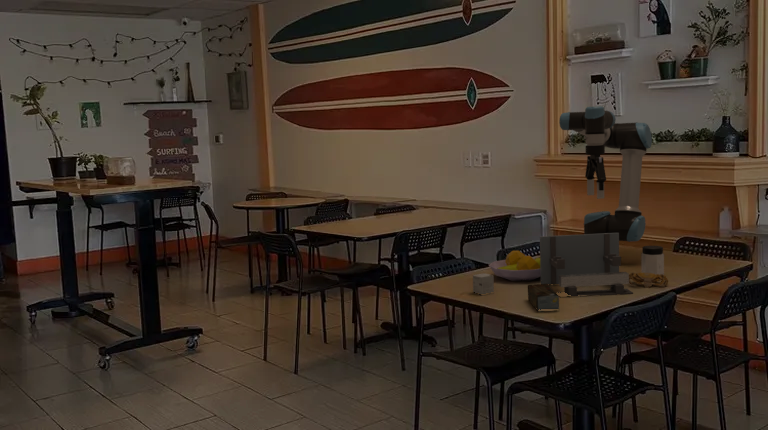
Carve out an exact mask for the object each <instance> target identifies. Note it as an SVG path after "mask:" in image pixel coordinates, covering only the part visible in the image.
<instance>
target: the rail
mask: <svg viewBox="0 0 768 430" xmlns="http://www.w3.org/2000/svg"><path fill="white" fill-rule="evenodd" d="M629 274H630V273H628V272H627V271H619V272H613V273H592V274H572V275H559V285H558V286H559V287H560V288H564V287H577V288H578V287H594V286H595V287H596V286H610V285H617V284H623V285H629V284H630V283H629Z"/></svg>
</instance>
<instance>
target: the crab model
mask: <svg viewBox="0 0 768 430" xmlns="http://www.w3.org/2000/svg"><path fill="white" fill-rule="evenodd" d="M632 281H633V282H634V283H635V284H637V285H643V286H644V288H645V289H650V287H652V285H653V286H662V285H664V288H665V287H667V286H668V284H669V279H668V277H667V276H666V275H665V274H664V275H663V274H660V275H659V274H656V275H655V274H653V273H642V272H630V273H629V284H630V285H633V283H632ZM657 282H659V283H657Z"/></svg>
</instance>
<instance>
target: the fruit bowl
mask: <svg viewBox="0 0 768 430" xmlns="http://www.w3.org/2000/svg"><path fill="white" fill-rule="evenodd" d="M488 267H489V268H490V269H491V271H492V272H493V273H494V276H497V277H501V278H502V279H506V280H508V281H512V282H519V281H521V280H522V281H534V280H537V279H538V278H541V271H540V256H539V257H536V258H533V257H532V256H531V255H526V254H525V253H523V252H522V251H520V250H512V251H510V252H509V253H508V254H507V255H506V257H505V259H501V260H495V261H492V262H491V263H490V264H488Z"/></svg>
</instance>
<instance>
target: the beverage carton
mask: <svg viewBox="0 0 768 430" xmlns="http://www.w3.org/2000/svg"><path fill="white" fill-rule="evenodd" d="M555 292H556V291H555V290H554V289H553V288H552V287H551V285H548V284H541V283H536V284H535V283H534V284H528V285H527V298H528V301H529V300H530V301H529V302H530V304H531V305H532V304H533V305H534V306H535V307H536V308H537V309H538V310H539V309H540V310H541V309H559V310H560V303H559V302H560V300H559V298H560V297H559V296H558V295H557V294H556V293H555ZM533 305H532V306H533ZM534 306H533V307H534ZM535 307H534V308H535Z"/></svg>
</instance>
